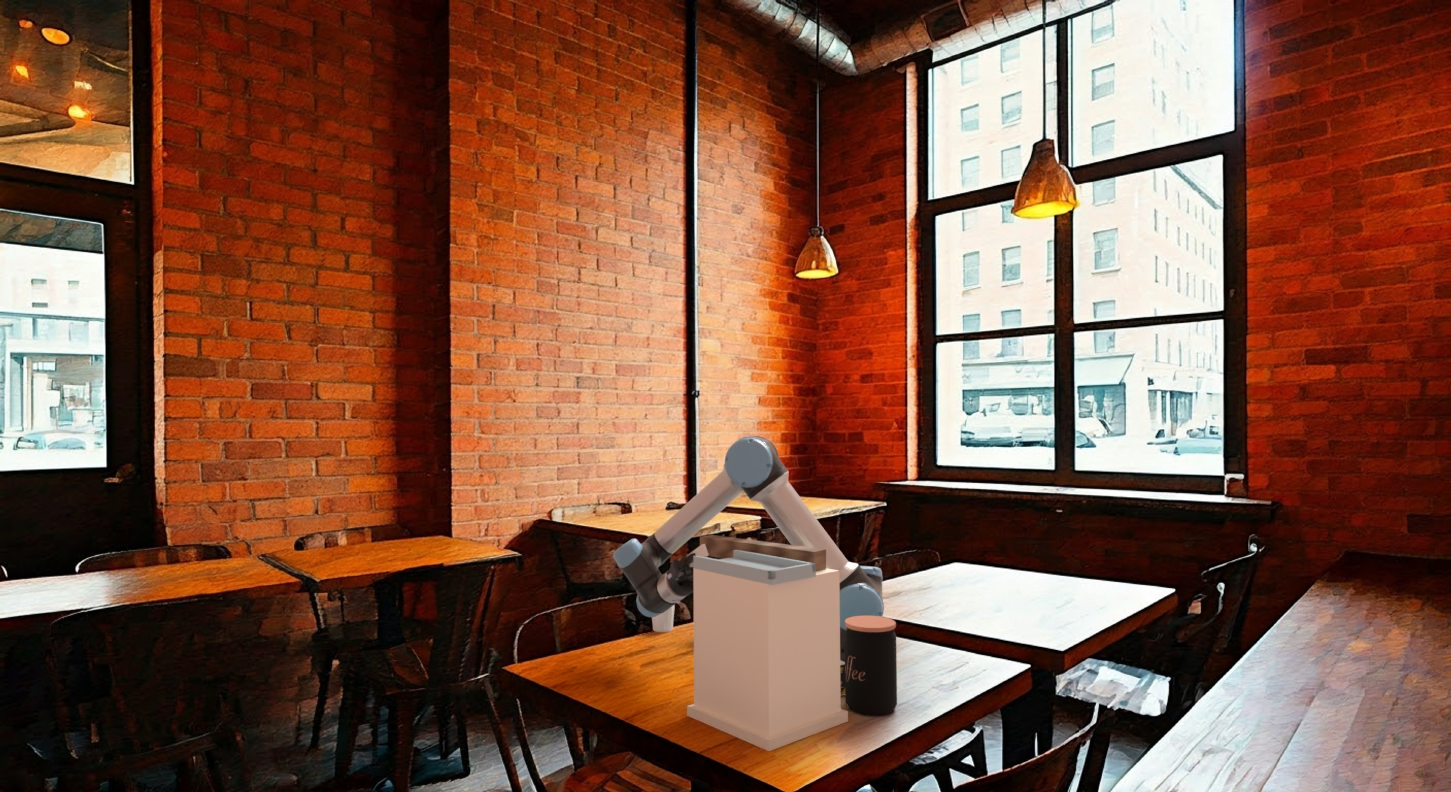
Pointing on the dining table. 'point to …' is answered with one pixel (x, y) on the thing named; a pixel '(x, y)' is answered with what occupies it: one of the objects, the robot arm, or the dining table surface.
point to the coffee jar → (870, 665)
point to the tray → (757, 567)
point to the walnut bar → (763, 549)
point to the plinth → (767, 657)
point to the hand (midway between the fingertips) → (729, 546)
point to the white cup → (664, 621)
